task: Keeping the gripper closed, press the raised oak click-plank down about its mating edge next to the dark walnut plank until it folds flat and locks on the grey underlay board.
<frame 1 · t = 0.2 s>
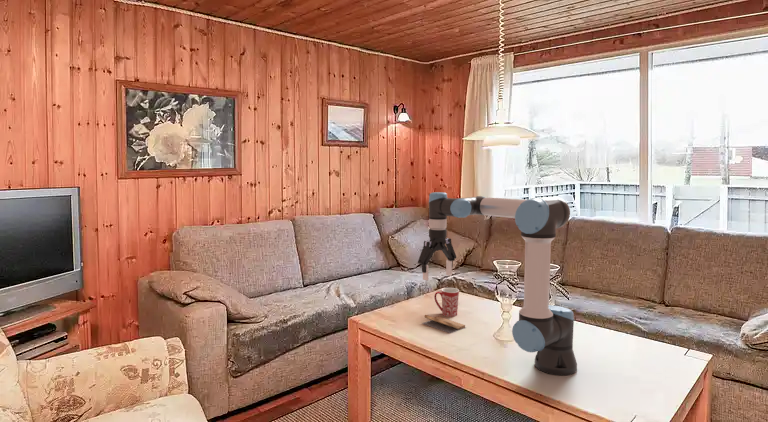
hand: (437, 277, 215), 28 cm above the table, fingers open, 13 cm apart
mug: (446, 316, 250), on the table
floor panel: (443, 327, 233), on the table
plank: (441, 321, 232), point 3 cm above the table, hinge at 28.0°
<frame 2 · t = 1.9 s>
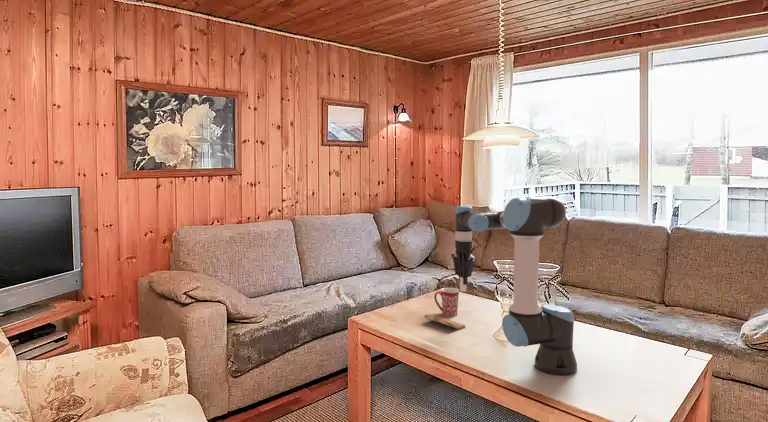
hand: (463, 290, 228), 18 cm above the table, fingers closed
nothing on the table moved.
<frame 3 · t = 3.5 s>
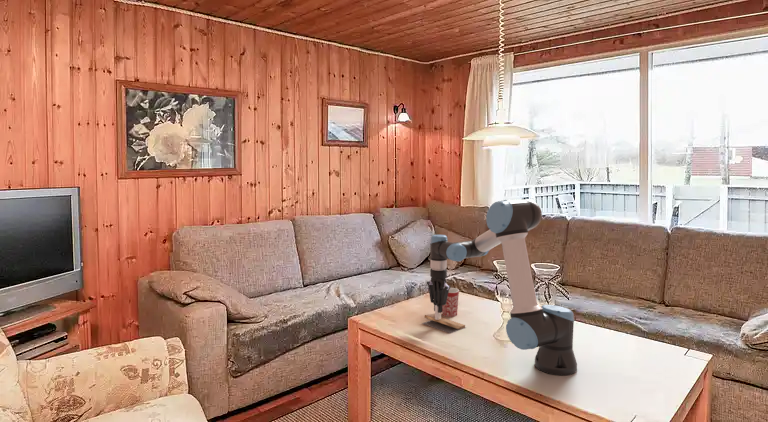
hand: (438, 318, 230), 5 cm above the table, fingers closed
plank: (441, 322, 232), point 3 cm above the table, hinge at 26.6°, touching gripper
everything else where it was.
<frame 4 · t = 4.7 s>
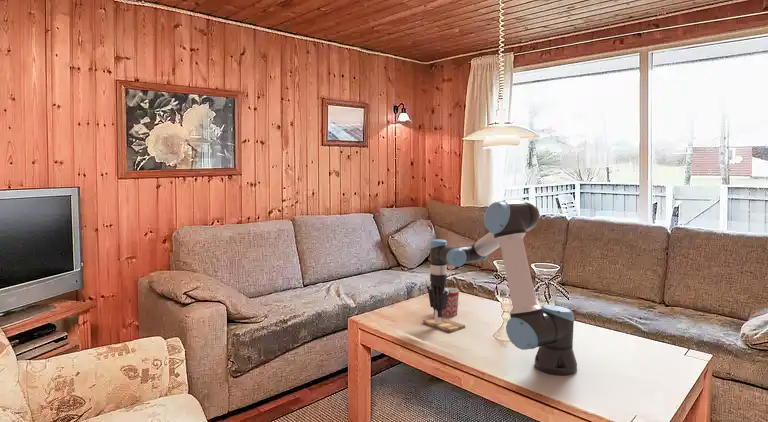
hand: (437, 323, 230), 3 cm above the table, fingers closed
plank: (440, 324, 231), point 2 cm above the table, hinge at 3.4°, touching gripper
everything else where it was.
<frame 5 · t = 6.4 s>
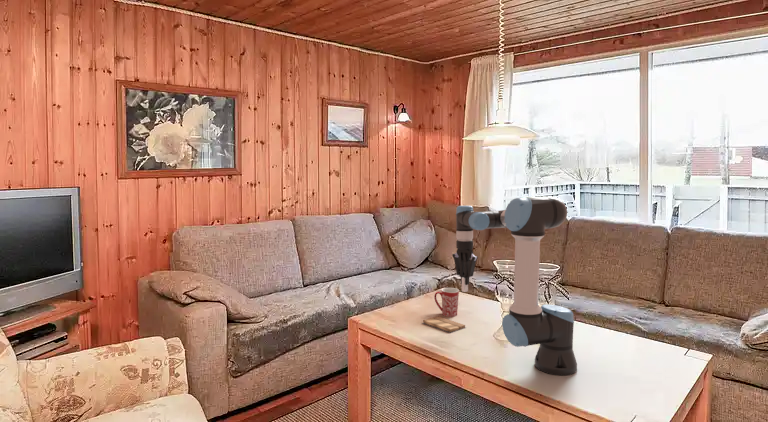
hand: (464, 291, 227), 18 cm above the table, fingers closed
plank: (440, 324, 231), point 2 cm above the table, hinge at 3.0°
everything else where it was.
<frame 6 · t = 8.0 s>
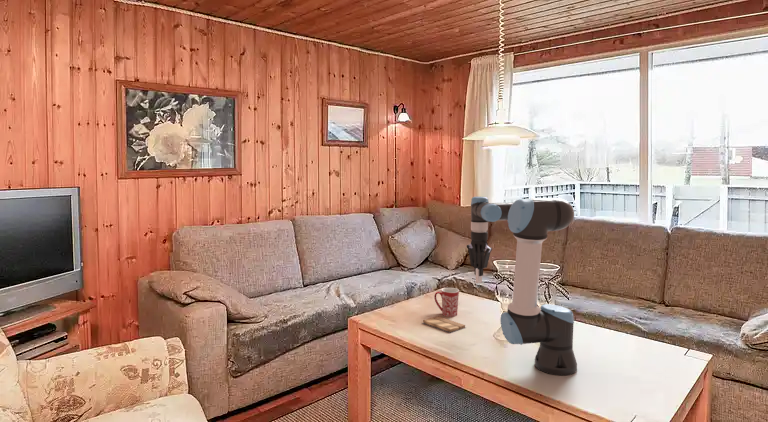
hand: (478, 282, 226), 22 cm above the table, fingers closed
nothing on the table moved.
at the end: plank at +3° (first picture: +28°); the gripper is holding nothing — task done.
